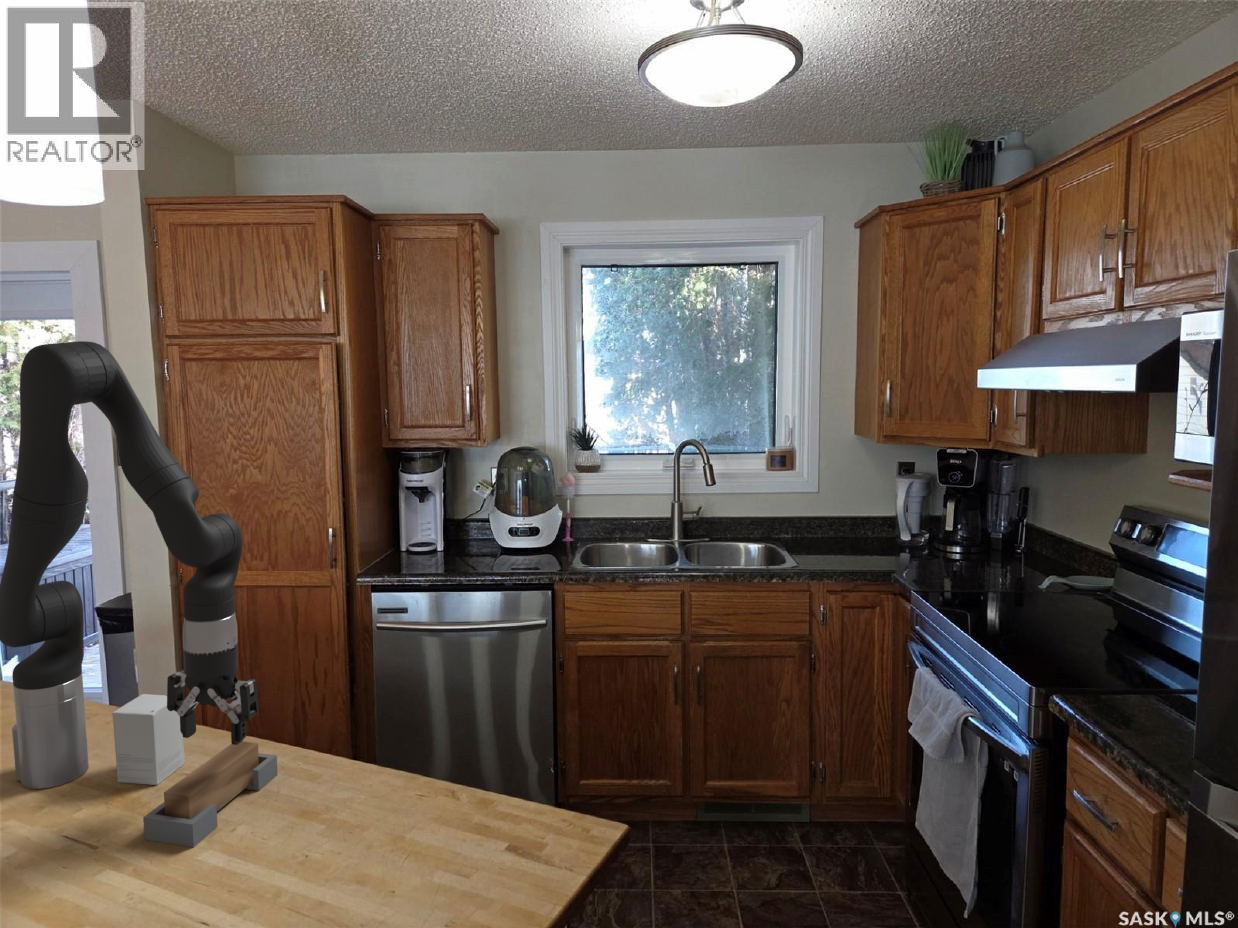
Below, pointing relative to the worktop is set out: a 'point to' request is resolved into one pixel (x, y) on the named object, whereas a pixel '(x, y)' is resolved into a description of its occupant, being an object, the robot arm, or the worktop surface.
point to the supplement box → (147, 740)
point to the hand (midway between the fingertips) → (213, 738)
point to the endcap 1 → (179, 826)
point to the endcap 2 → (263, 771)
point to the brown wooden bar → (213, 781)
